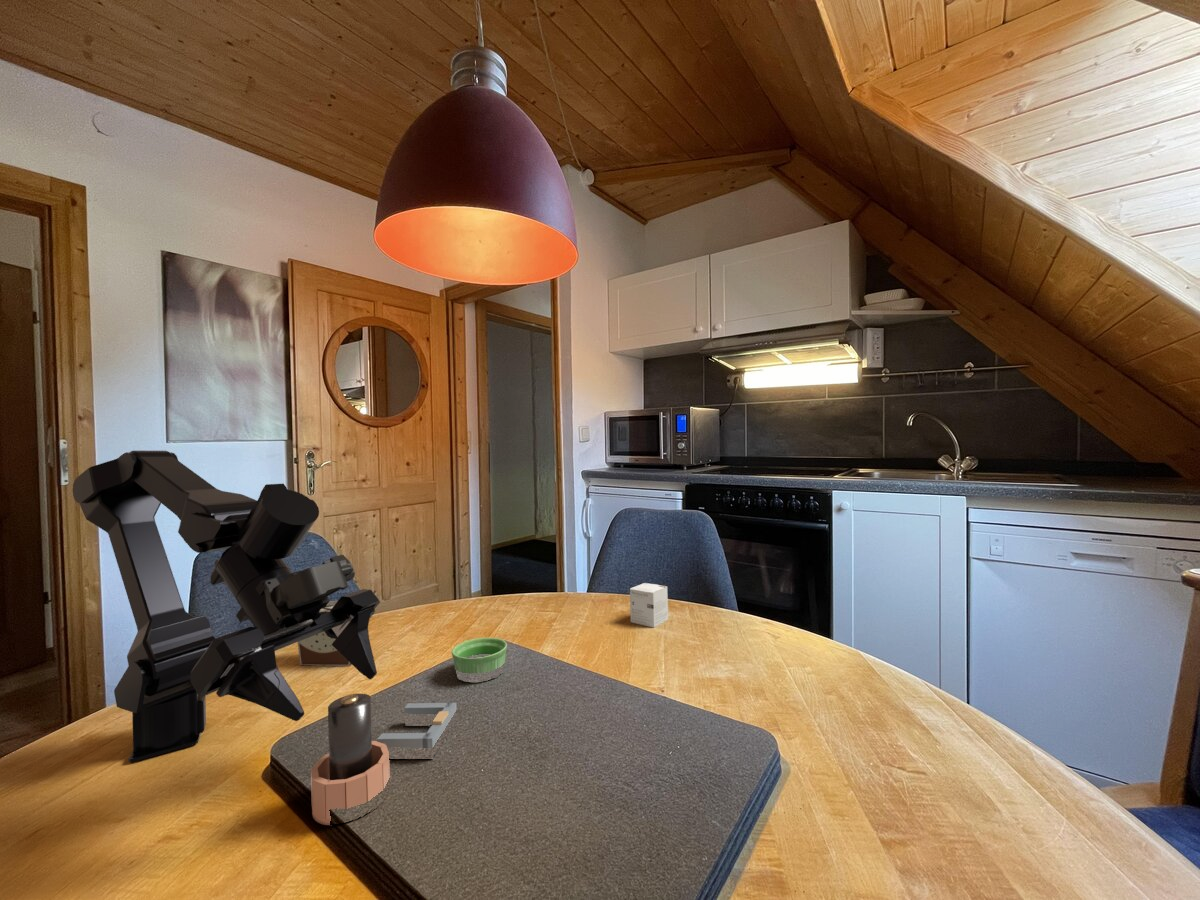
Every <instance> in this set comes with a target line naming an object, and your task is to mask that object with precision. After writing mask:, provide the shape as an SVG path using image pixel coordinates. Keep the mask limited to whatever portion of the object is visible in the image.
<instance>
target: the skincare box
mask: <svg viewBox="0 0 1200 900" xmlns="http://www.w3.org/2000/svg"><path fill="white" fill-rule="evenodd" d="M668 592H669V591H668V586H666V585H660V584H657V583H648V582H643V583H641V584H638V585H636V586H633V587H631V588H629V607H630V608H629V609H630V613H629V614H630V623H632V624H637V625H641V626H646V627H650V628H657V627H658V626H660V625H661V624H663V623H665V622H667V621H669V612H668V611H669V605H668V604H669V603H668V602H669V601H668Z"/></svg>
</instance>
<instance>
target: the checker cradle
mask: <svg viewBox="0 0 1200 900" xmlns="http://www.w3.org/2000/svg"><path fill="white" fill-rule="evenodd" d="M456 710H458V709H457V702H422V703H421V702H418V703H415V702H414V703H411V702H410V703H409V702H408V703H407V704H406V705H405V706H404V709H403V712H404V713H408V714H409V713H410V714H434V715H435V714H437V715H436V717H435V718H434V720H433V721H432V726H429V728H428V730H427V731H426V732H396V733H395V732H393V733H392V732H391V733H390V732H388V733H387V732H386V733H385V732H384V733H381V734H380V735H379V737H377V738H376V739H377V740H376V741H377V742H380V743H383V744H385V745H386V746H387V747H390V748H391V747H401V748H402V747H403V748H404V747H412V748H413V747H415V748H416V747H417V748H421V747H422V748H433V747H434V745H435V743H436V742H437V740H438V739H439V737H440V736H441V734H442V733H443V731H444V730H445V728H446V726H447V725H448V723H449V722H450V720H451V718H452V717H453V715H454V713H455V712H456ZM404 713H403V714H404Z"/></svg>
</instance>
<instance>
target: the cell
mask: <svg viewBox="0 0 1200 900" xmlns="http://www.w3.org/2000/svg"><path fill="white" fill-rule="evenodd" d="M327 715H328V716H327V717H328V718H327V719H328V720H327V721H328V723H327V724H328V753H329V773H330V780H341V779H348V778H350V777H353V776H356V775H359V774H362V773H364V772H366V771H367V770H369V769H370V768H371V767H372V741H373V739H372V701H371V696H370V695H369V694H367V693H352V694H347V695H345V696H341V697H340V698H339V697H338V698H337V699H335V700H333V701H332V702H331V703H329V705H328V707H327Z"/></svg>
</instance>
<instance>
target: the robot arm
mask: <svg viewBox="0 0 1200 900" xmlns="http://www.w3.org/2000/svg"><path fill="white" fill-rule="evenodd" d="M72 496H73V498H74V499H73V500H74V501H75V502H76V503H77V504H79V506H80V508H81V511H82V513H83V516H84V518H85V520H87V521H88V522H90V523H92V524H93V525H94V526H96V527H98V529H99V528H100V529H102V530H103V531H104V532H106V533H107V535H108V538H109V541H110V544H111V548H112V550H113V554H114V558H115V561H116V564H117V568H118V570H119V573H120V576H121V580H122V583H123V587H124V590H125V593H126V596H127V599H128V603H129V605H130V609H131V612H132V616H133V618H134V622H135V625H136V629H137V633H136V635H135V638H134V639H133V642H132V644H131V646H130V649H129V650H128V653H127V655H126V659H127V664H128V666H127V668H126V670H125V672H124V673H123V675H122V677H121V678H120V680H119V681H118V683H117V685H116V686H115V688H114V690H113V693H114V694H113V695H114V698H115V705H116V707H117V708H119V709H122V710H124V711H128V712H130V713H132V716H131V717H132V718H131V719H132V751H131V753H130V755H129V758H128V762H129V763H134V762H139V761H142V760H145V759H149V758H152V757H157V756H159V755H163V754H166V753H170V752H174V751H177V750H181V749H184V748H187V747H191V746H194V745H197V744H198V743H199V742H200V736H201V734H202V733H203V732H204V731H205V729H206V725H207V709H206V708H207V707H206V706H207V705H206V704H207V702H206V696H208V695H210V694H212V693H216V695H217V697H219V698H222V697H225V696H231V697H235V698H238V699H241V700H243V701H247V702H250V703H252V704H255V705H259V706H261V707H263V708H265V709H267V710H270V711H272V712H274V713H277V714H278V715H281V716H283V717H285V718H288V719H289V720H292V721H294V722H298V721H300V720H302V718H303V717H304V716H305V711H304V708H303V706H302V704H301V702H300V700H299V698H298V697H297V695H296V694H295V692H294V691H293V689H292V688H291V686H290V685H289V682H287V680H286V678H285V677H284V675H283V674H282V672H281V671H280V670H279V668H278V666H277V661H276V660H277V657H276V651H278V650H281V649H283V648H286V647H288V646H289V647H290V646H291V645H294V644H296V643H298V642H299V641H301V640H304V639H306V638H309V637H311V636H314V635H316V634H319V633H321V632H325V633H326V635H327V636H328V637H331V638H334V639H336V640H335V641H334V642H333V643H332V646H333V647H334V648H335V649H336V650H337V651H338V652H340V653H341V654H342V655H343V656H344V657H345V658H346V659H347V660H348V661H349V662H350V663H351V664H352V665H351V666H353V667H354V668H355V669H356V670H357V671H358V672H359V673H360V674H362V675H363V676H364V677H366V678H367V679H368V680H372V679H374V678H375V677H376V675H377V673H378V672H377V668H376V666H377V665H376V662H375V659H374V654H373V650H372V646H371V640H370V636H369V625H370V619H371V618H372V617H373V615H374V614H375V612H376V608H377V607H378V606H379V604H380V603H381V601H380V600H379V598H378V597H377V596H376V594H375V592H373V590H372V589H367V588H362V589H359V590H357V591H354V592H353V591H352V592H350V593H346V594H345V595H342V596H340V598H339V599H338V600H336V601H337V603H336V604H335V605H334V606H333V608H332V609H331V610H330V612H327V613H324V614H322V615H321V613H320V612H319V611H320V610H321V608H324V607H326V605H327V604H328V603H329V601H331V600H330V598H329V596H331V595H332V594H334V593H336V592H338V591H340V590H343V591H344V590H345V589H348V587H349V584H348V582H349V581H351V580H353V579H354V578H355V575H356V571H355V569H354V567H353V565H352V564H353V563H352V562H350V560H349V559H348V558H347V557H346V556H345V555H344V554H340V555H336V556H331V557H330V558H329V559H328V560H324V561H322V564H319V565H315V566H311V567H307V568H305V569H302V570H300V571H299V570H298V571H295V572H293V571H292V570H291V569H290V567H289V566H288V564H287V563H286V562H285V561H284V559H285V558H288V557H290V556H292V555H293V554H294V553H295V552H296V550H297V549H298V547H299V546H300V544H301V543H302V541H303V540H304V538H305V537H306V535H307V534H308V533H309V532H310V530H311V528H312V527H313V525H314V524H315V522H316V520H317V519H318V518H319V515H320V509H319V506H318V504H317V503H316V502H315V500H313V499H310V498H309V497H308V496H306V495H305V494H303V493H301V492H298V491H295V490H292V489H288V488H287V486H286V485H285V484H284V483H270V484H269V483H267V484H265V485H264V486H263V488H262V490H261V491H260V495H259V496H258V498H257V500H256V499H254V498H252V497H249V496H247V495H244V494H241V493H235V492H230V491H225V490H220V489H219V488H216V487H215V486H214V485H212V484H211V483H210V482H209V481H207V480H206V479H204V478H202V477H201V476H200V475H199V474H198V473H196V472H194V471H193V470H192V469H190V468H189V467H188V466H187V465H185V464H183V462H181V461H180V460H179V458H178V456H177V454H176V453H174V452H170V451H168V450H130V451H129V452H124V453H123V454H121V455H120V456H118V457H117V458H115V459H112V460H107V461H105V462H102V463H99V464H97V465H92V466H90V467H88V468H86V469H85V471H83V472H81V474H79V476H77V477H76V478H75V480H73V484H72ZM161 504H162V505H163V506H164V507H165V508H167V509H168V510H169V511H170V512H171V513H173V514H174V515H175V516H177V518H178V519H179V520H180V521H179V527H178V530H177V533H178V534H179V536H180V537H181V538H182V539H183V541H184V542H185V544H187V546H188V547H189V548H190V549H191V550H192V551H194V552H196V553H197V554H198V553H199V554H202V553H210V552H215V551H221V550H224V551H223V552H222V553H221V556H220V557H219V559H217V560H215V562H214V568H213V570H212V572H211V574H210V582H209V583H210V584H211V585H212V586H214V585H219V584H222V583H224V584H225V585H226V587H227V588H228V590H229V591H230V592H231V594H232V596H233V598H234V599H235V600H236V601H237V604H239V605H238V606H240V609H239V610H238V612H237V613H236V615H235V617H236V618H237V619H238V621H239V622H240V623H242V622H246V621H250V623H251V624H252V626H249V627H245V628H242V629H240V630H237V631H234V632H233V631H232V632H230V633H227V634H224V635H221V636H218V637H216V638H215V636H214V634H213V631H212V628H211V623H210V620H209V619H208V618H207V617H206V616H205V614H204V615H203V614H200V615H198V616H194V615H192V614H190V613H189V612H188V611H186V610H185V607H184V603H183V602H182V598H181V594H180V592H179V588H178V586H177V582H176V579H175V577H174V573H173V571H172V568H171V564H170V561H169V559H168V555H167V552H166V549H165V546H164V544H163V541H162V538H161V534H160V531H159V529H158V526H157V523H156V520H155V517H156V514H157V512H158V510H159V508H160V506H161Z"/></svg>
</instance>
